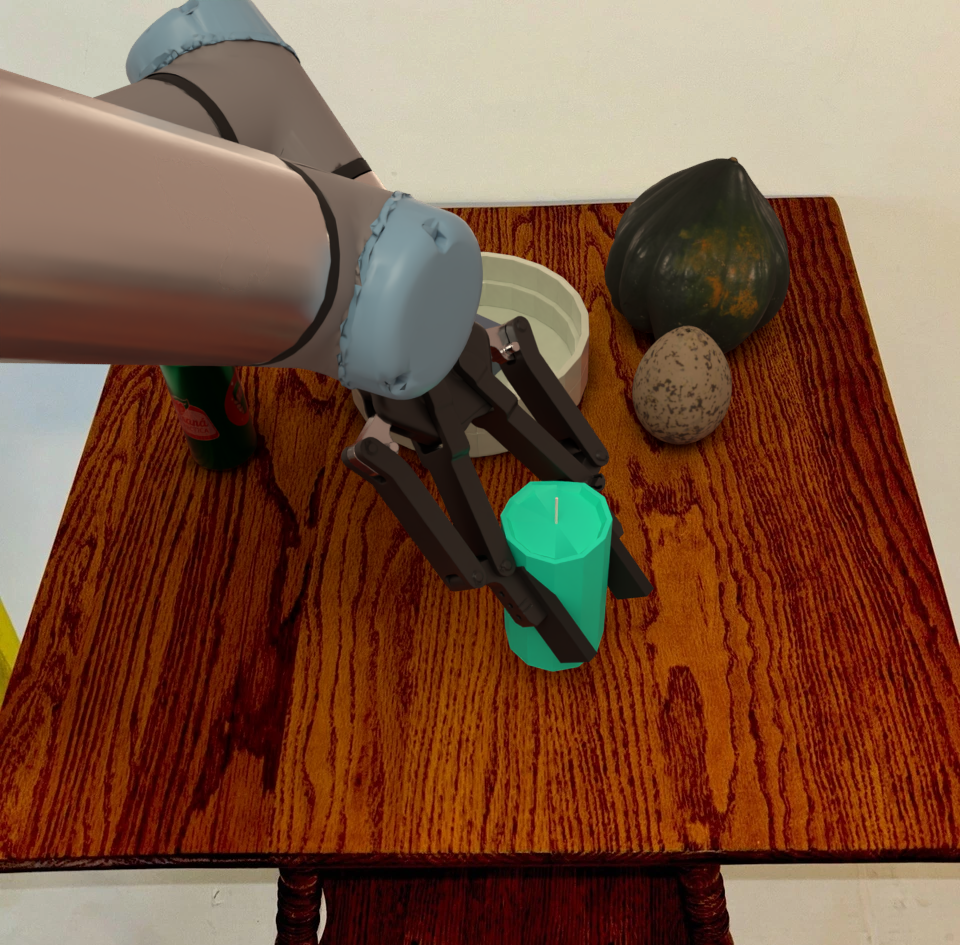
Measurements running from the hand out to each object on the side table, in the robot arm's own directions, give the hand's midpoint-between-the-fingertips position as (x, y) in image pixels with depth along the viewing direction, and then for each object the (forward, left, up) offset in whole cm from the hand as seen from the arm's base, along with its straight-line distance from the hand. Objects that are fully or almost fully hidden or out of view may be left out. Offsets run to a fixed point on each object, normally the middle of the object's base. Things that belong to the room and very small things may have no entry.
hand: (607, 624), depth 59 cm
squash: (+32, +20, -8) cm, 38 cm away
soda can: (-5, +35, -8) cm, 36 cm away
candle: (-1, +4, -4) cm, 5 cm away
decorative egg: (+21, +12, -8) cm, 25 cm away
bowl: (+14, +28, -7) cm, 32 cm away
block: (+14, +28, -7) cm, 32 cm away
